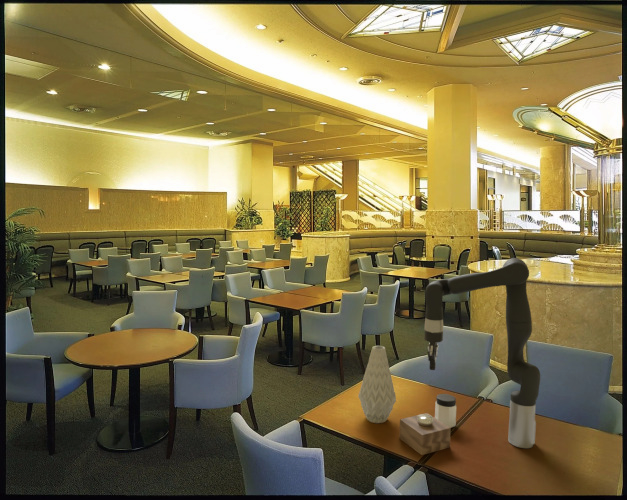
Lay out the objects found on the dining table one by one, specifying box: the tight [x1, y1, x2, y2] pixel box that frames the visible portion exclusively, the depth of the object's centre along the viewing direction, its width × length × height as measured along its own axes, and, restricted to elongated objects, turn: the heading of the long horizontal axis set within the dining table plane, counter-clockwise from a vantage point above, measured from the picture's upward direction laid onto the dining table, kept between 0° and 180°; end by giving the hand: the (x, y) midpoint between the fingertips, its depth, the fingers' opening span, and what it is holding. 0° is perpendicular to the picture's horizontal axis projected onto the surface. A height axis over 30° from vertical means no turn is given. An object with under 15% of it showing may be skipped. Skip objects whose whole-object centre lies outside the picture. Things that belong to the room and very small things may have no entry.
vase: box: [358, 345, 397, 424], centre depth 197 cm, size 17×17×33 cm
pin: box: [417, 413, 434, 427], centre depth 178 cm, size 6×6×10 cm
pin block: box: [399, 412, 452, 456], centre depth 178 cm, size 14×14×8 cm
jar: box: [434, 393, 457, 428], centre depth 194 cm, size 9×8×12 cm
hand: (432, 369), depth 186 cm, fingers closed
